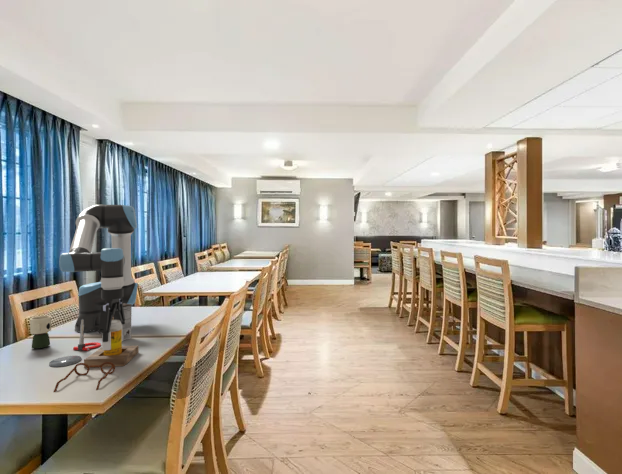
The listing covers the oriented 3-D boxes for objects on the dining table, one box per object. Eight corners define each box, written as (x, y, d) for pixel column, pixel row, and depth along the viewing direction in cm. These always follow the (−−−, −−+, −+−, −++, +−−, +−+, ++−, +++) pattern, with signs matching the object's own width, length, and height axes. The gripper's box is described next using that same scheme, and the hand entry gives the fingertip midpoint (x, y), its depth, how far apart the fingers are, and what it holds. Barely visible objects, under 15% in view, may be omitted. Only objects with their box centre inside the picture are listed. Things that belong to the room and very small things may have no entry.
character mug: (49, 349, 145) (49, 319, 145) (28, 352, 142) (27, 321, 141) (52, 342, 155) (52, 313, 154) (32, 345, 151) (32, 315, 151)
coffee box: (105, 339, 159) (105, 304, 159) (118, 335, 165) (118, 302, 165) (120, 341, 156) (119, 306, 156) (132, 337, 162) (131, 303, 162)
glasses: (115, 374, 121) (115, 360, 121) (97, 391, 108) (97, 375, 108) (75, 376, 120) (75, 362, 120) (52, 394, 107) (52, 378, 107)
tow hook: (88, 344, 154) (70, 350, 145) (89, 315, 154) (72, 319, 145) (105, 345, 152) (88, 351, 143) (106, 316, 153) (89, 320, 144)
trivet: (59, 357, 136) (59, 356, 136) (86, 356, 137) (86, 355, 137) (42, 367, 126) (42, 365, 126) (72, 366, 127) (72, 364, 127)
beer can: (103, 363, 130) (102, 324, 130) (104, 358, 135) (104, 320, 135) (121, 361, 133) (121, 322, 132) (122, 356, 138) (121, 318, 138)
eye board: (102, 354, 140) (102, 346, 140) (138, 352, 142) (138, 345, 142) (84, 367, 126) (84, 359, 126) (124, 365, 128) (124, 357, 128)
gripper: (114, 283, 144) (115, 337, 144) (87, 293, 122) (87, 355, 122) (133, 283, 145) (134, 336, 145) (109, 292, 123) (110, 355, 123)
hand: (112, 345), depth 134 cm, fingers open, 10 cm apart
